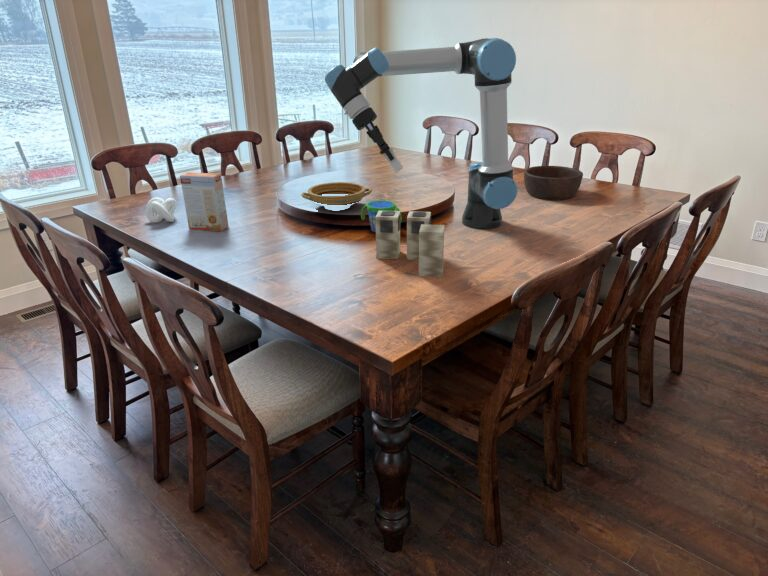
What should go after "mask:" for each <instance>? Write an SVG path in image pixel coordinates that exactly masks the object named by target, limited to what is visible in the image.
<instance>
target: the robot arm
mask: <svg viewBox="0 0 768 576" xmlns="http://www.w3.org/2000/svg"><path fill="white" fill-rule="evenodd" d="M516 63H517V55H516V51H515V49H514V47H513V46H512V45H511V44H510V43H509V42H508V41H506V40H505V39H503V38H497V37H495V38H494V37H493V38H487V37H486V38H480V39H479V38H478V39H475V40H472V41H468V42H467V41H466V42H457V43H456V44H455V45H454V46H447V47H446V46H445V47H434V48H433V47H431V48H418V49H405V50H404V49H403V50H402V49H401V50H388V51H382V50H381V49H380V48H379V47H377V46H376V47H373V48H372V49H370V50H368V51H367V52H364V51H363V52H359V53H358V54H357V55H356V56H354V59H353V62H352V64H351V65H349V66H347V67H344V65H342V64H338V65H336V66H334V67H333V68H331V69H330V70H329V71H328V72H327V73H326V75H325V76H324V82H325V84H326V86H327V87H328V89H329V90H330V92H331V93H332V94H333V96H334V98H335V99H336V101H337V102H338V103H339V105H340V107H342V109H343V110H344V112H343V114H344V115H345V116H348V118H349V119H350V120H352V121H351V122H352V125H354V127H355V128H356V130H358V131H362V130H363V129H366V130H367V131H366V134H367V136H368V138H370V139H371V140H372V142H373V143H375V144H377V146H378V148H379V150H380V151H379V153H380V155H383V156H384V158H385V159H386V160H387V162H388V163H389V165H390V166H391V168H392V169H393V171H394V172H395V173H396V174H397V173H399V172H400V171H401V170H402V169H403V165H402V163H401V162H400V161H399V159H398V158H397V156H396V155H395V153H394V150H393V148H390V146H389V144H388V143H387V142H386V141H385V139H384V136H383V133H382V132H381V131H380V128H379V127H378V125H377V124H374V121H376V119H377V118H378V115H377V114H376V112H375V111H374V109H373V108H372V107H370V103H369V101H368V100H367V98H366V97H365V95H364V94H363V93H362V91H361V90H362V89H363V88H364V87H366V86H367V85H369V84H370V83H371V82H373V81H374V80H375V79H377V78H378V77H388V76H390V77H391V76H403V75H416V74H420V75H421V74H432V73H435V74H436V73H448V72H454V73H456V74H457V75H463V74H464V75H472V76H474V87H475V88H476V89H477V90H478V91H479V103H480V104H479V105H480V127H481V128H480V129H481V132H480V133H481V153H482V154H481V155H482V156H481V157H482V161H477V162H471V164H469V168H468V172H467V173H468V181H467V182H468V184H467V186H468V187H467V202H466V203H467V204H466V205H465V208H464V210H463V213H462V217H461V222H462V225H464V226H467V227H469V228H473V229H493V228H494V229H495V228H498V227H500V226H502V223H503V216H502V211H501V210H503V209H505V208H508V207H509V206H510V205H511V204H513V203H514V201H515V200H516V198H517V196H518V185H517V183H516V181H515V180H514V173H513V172H514V166H513V165H512V164H511V163H510V162H509V142H508V141H509V137H508V136H509V135H508V134H509V133H508V131H509V129H508V89H509V88H508V87H510V85H511V84H512V82H513V80H512V73H513V71H514V70H515V68H516V67H515V66H516Z"/></svg>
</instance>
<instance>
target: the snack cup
mask: <svg viewBox="0 0 768 576" xmlns="http://www.w3.org/2000/svg"><path fill="white" fill-rule="evenodd" d="M365 209H366V210H367V213H368V218H369V220H368V221H369V224H370V225H369V226H370V230H371V231H372V232H373V233H376V219H375V217H376V215H377V213H378V211H379V210H380V211H400V220H401V222H402V220H403V216H402V213H401V210H400V208H399V207H398V206H396V203H395V202H393V201H390V200H385V199H384V200H380V199H379V200H372V201H368V202H367V203H366V204H365V205H363V206H362V207H361V211H360V218H361V221H364V220H365V219H366V215H365Z"/></svg>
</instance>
